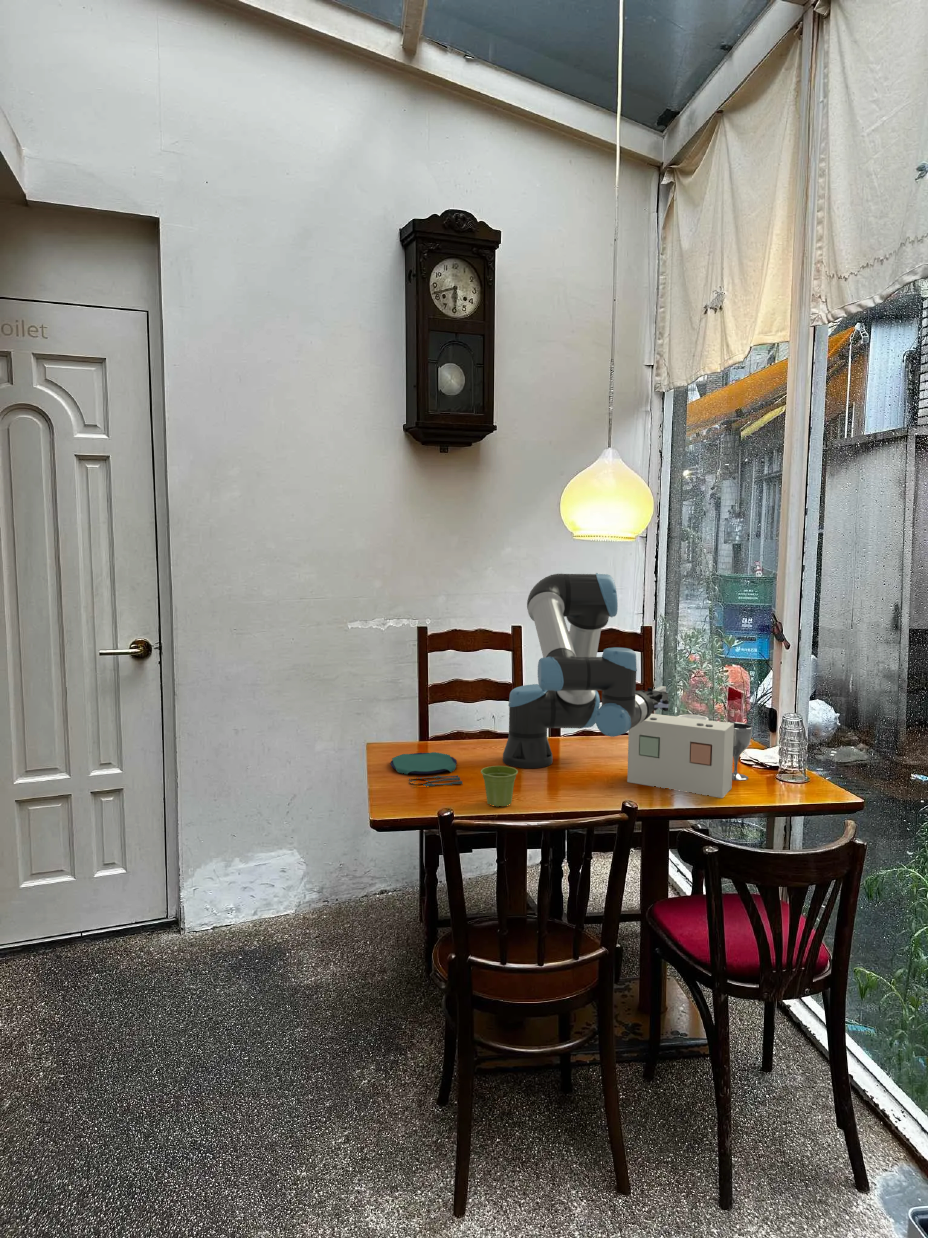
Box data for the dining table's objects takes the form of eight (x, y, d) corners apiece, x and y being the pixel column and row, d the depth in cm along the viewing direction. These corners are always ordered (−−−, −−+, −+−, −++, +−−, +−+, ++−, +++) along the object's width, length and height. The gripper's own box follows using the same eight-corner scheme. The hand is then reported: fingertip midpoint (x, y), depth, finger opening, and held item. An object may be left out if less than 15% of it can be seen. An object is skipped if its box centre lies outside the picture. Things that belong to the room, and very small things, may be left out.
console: (722, 798, 204) (724, 729, 202) (627, 782, 218) (628, 717, 216) (731, 788, 213) (734, 722, 211) (639, 773, 226) (641, 711, 225)
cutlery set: (450, 756, 244) (450, 749, 244) (470, 787, 215) (470, 779, 214) (387, 760, 240) (386, 753, 240) (398, 792, 211) (397, 784, 211)
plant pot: (496, 812, 192) (496, 778, 192) (473, 802, 200) (473, 769, 199) (525, 805, 198) (525, 772, 197) (501, 795, 206) (502, 763, 205)
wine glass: (715, 776, 224) (717, 724, 222) (730, 771, 229) (732, 721, 228) (740, 782, 218) (742, 730, 216) (755, 777, 223) (757, 725, 221)
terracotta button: (709, 764, 205) (710, 746, 204) (690, 762, 208) (691, 743, 207) (715, 759, 210) (716, 741, 209) (696, 757, 213) (697, 739, 212)
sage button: (657, 757, 212) (657, 739, 212) (639, 754, 215) (640, 736, 214) (664, 752, 217) (664, 734, 217) (646, 749, 220) (647, 732, 220)
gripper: (606, 720, 190) (638, 702, 210) (658, 727, 183) (687, 708, 203) (607, 690, 189) (639, 674, 209) (660, 696, 182) (688, 680, 202)
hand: (663, 691), depth 206 cm, fingers closed
